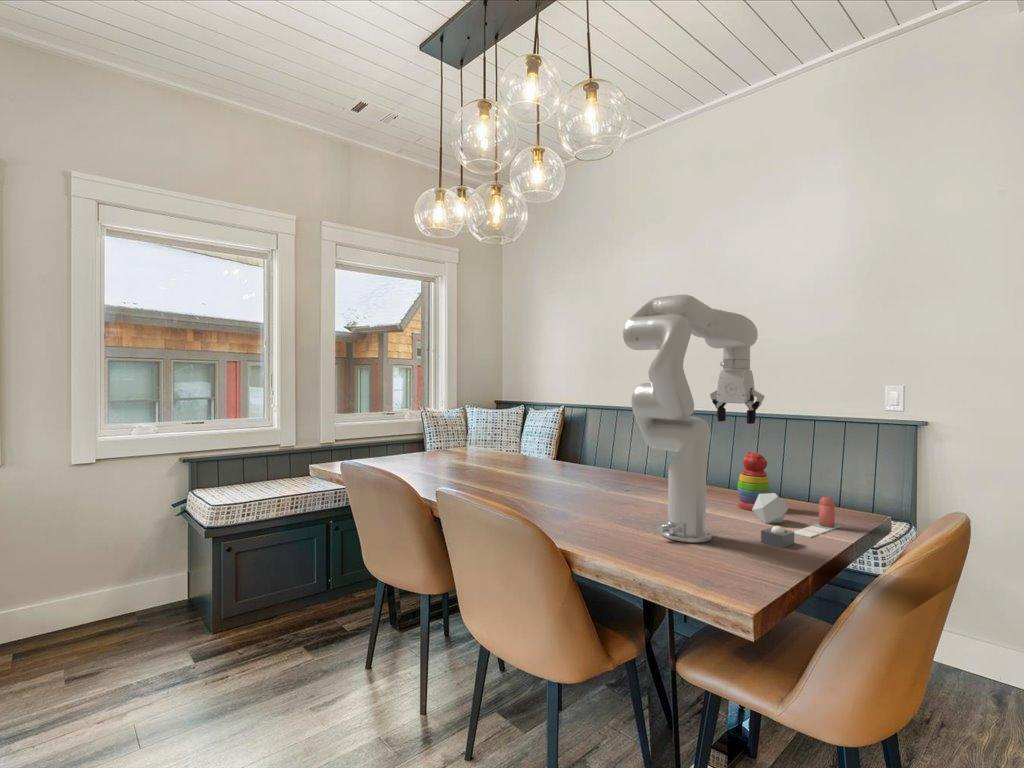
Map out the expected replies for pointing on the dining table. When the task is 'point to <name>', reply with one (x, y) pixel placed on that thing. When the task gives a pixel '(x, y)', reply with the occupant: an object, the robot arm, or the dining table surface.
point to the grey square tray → (777, 538)
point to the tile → (826, 527)
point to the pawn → (826, 512)
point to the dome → (777, 530)
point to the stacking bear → (752, 480)
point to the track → (810, 531)
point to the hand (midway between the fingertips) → (735, 422)
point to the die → (770, 508)
